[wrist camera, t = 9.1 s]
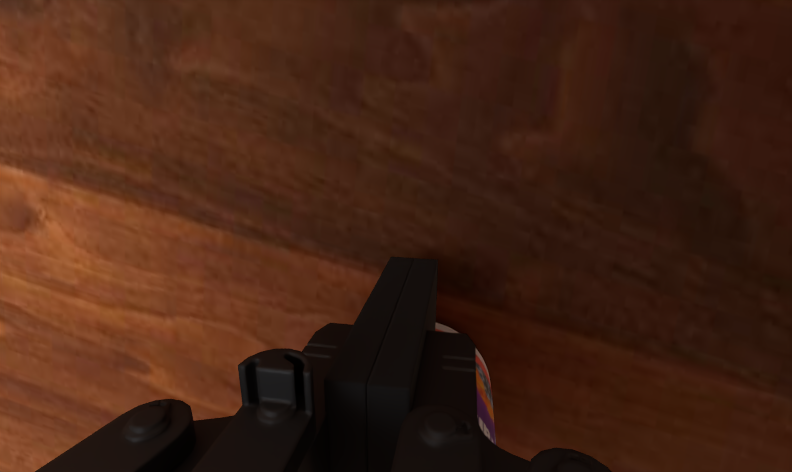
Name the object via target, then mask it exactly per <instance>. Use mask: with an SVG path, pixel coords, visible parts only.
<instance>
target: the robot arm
mask: <svg viewBox="0 0 792 472" xmlns="http://www.w3.org/2000/svg"><path fill="white" fill-rule="evenodd" d="M437 272H438V260H434V259H418V258H415V259H414V258H402V257H391V258H390V260H389V261H388V263H387V265H386V267H385V269H384V271H383V272H382V274H381V276H380V278H379V280H378V281H377V283H376V285H375V287H374V289H373V291H372V292H371V294H370V296H369V298H368V300H367V302H366V303H365V305H364V307H363V309H362V311H361V312H360V314H359V316H358V318H357V320H356V322H355V323H354V325H348V324H337V323H329V324H327V325H326V326H324V327H323V328H321V329H320V330H318V331H316V332H315V334H314V335H313V336H312V338H311V339H310V341H309V342H308V344H307V346H305V348H304V349H303V351H302V352H301V351H297V350H293V349H272V350H267V351H263V352H260V353H257V354H255V355H253V356H250V357H248V358H247V359H245V360H244V361H243V362H242V363H240V364H239V365H238V370H239V379H240V387H241V395H242V404H243V405H242V407H241V408H240V409H239V411H238V412H237V413H236V414H235V415H234V416H229V417H223V418H214V419H206V420H197V421H193V416H192V412H191V408H190V406H189V405H188V404H186V403H185V402H183V401H180V400H174V399H164V400H155V401H152V402H149V403H146V404H142V405H139V406H137V407H135V408H133V409H131V410H130V411H128V412H126V413H124V414H122V415H121V416H119V417H118V418H116V419H115V420H113V421H112V422H110V423H108V424H107V425H105V426H104V427H102V428H101V429H99V430H98V431H96V432H95V433H93V434H92V435H90V436H89V437H87V438H86V439H84V440H83V441H81V442H79V443H78V444H76V445H75V446H73V447H72V448H70V449H69V450H67V451H66V452H64V453H63V454H61V455H60V456H58V457H57V458H55V459H54V460H52V461H50V462H49V463H47V464H46V465H44V466H43V467H41V468H40V469H38V470H37V471H35V472H611V471H610V470H609V469H608V467H606V466H605V465H603V464H602V463H600V462H599V461H597V460H596V459H594V458H593V457H591V456H589V455H586V454H583V453H581V452H578V451H575V450H572V449H562V448H552V449H548V450H544V451H541V452H539V453H538V454H537V455H536V456H534V457H533V458H532V459H531V462H530V461H528V460H525V459H523V458H520V457H518V456H515V455H513V454H511V453H509V452H507V451H505V450H503V449H501V448H499V447H498V446H497V445H495V444H494V443H493V442H491V441H490V440H489V439H488V437H487V436H486V435H485V434H484V433H483V431H482V429H481V427H480V426H479V422H478V417H477V384H476V347H475V344H474V343H473V342H472V340H471V339H470V338H469V336H468V335H467V334H462V333H451V332H440V331H435V326H436V299H437Z"/></svg>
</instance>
